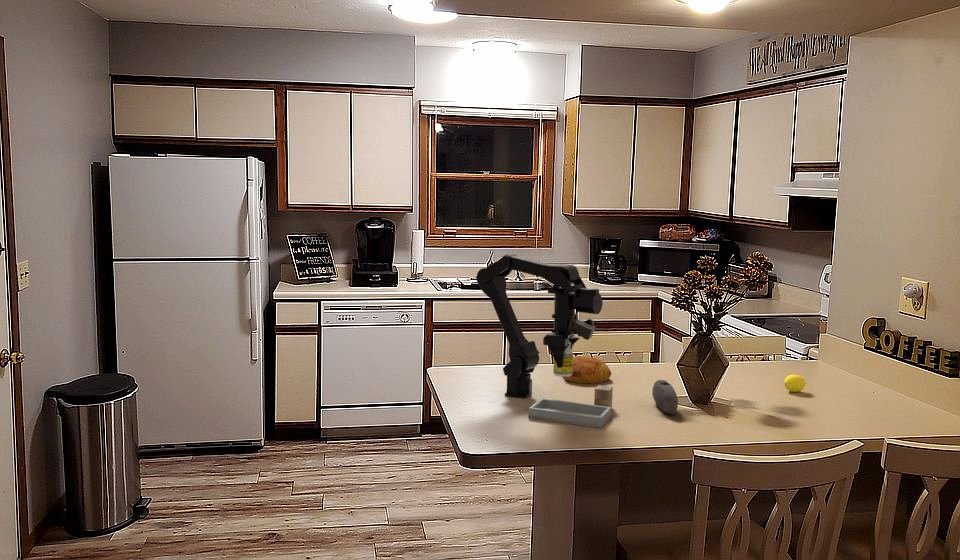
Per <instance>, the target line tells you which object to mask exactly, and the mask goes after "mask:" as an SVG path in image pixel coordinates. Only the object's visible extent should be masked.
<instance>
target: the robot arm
mask: <svg viewBox="0 0 960 560" xmlns="http://www.w3.org/2000/svg"><path fill="white" fill-rule="evenodd" d="M512 271H516V272H520V273H524V274H528V275H531V276H536V277H539V278H541V279H544V280H546V282H547V283H550V284H552V286H551V288H549V289H548V290H547V293H548V294H554V302H553V303H554V305H553V306H554V309H553V312H554V313H552V314H551V318H552V319H553V327H552V328H551V331H550V332H549V333H547V334H546V335H545V336H543V338H542V345H544V346H547V347H548V349H549V351H550V352H551V355H552V357H553V360H554V359H555V362H556V364H557V366H558V368H562V365H563V360H564V354H565V349H566V348H568V347H569V346H570V344H568V342H569V341H571V346H570V348H571V349H572V350H573V347H574V344H575V343H577V342H578V341H579V340H581V338H582V339H584V340H586V341H588V340H590V339H592V337H593V335H594V332H596V325H595V323H594V322H595V321H594V319H591V318H588V319H586V320H580V319H579V315H578V313H584V314H590V315H591V314H593V315H598V314H600V313H601V311H602V308H603V302H604V301H603V299H602V295H601V294H600V289H599V288H587V286H586V284H585V283H584V281H583V279H582V277H581V276H580V272H579V270H578V268H577V267H576V266H575V265H573V264H562V263H561V264H560V263H554V264H553V263H546V262H543V261H539V260H535V259H532V258H527V257H524V256H519V255H517V254H516V253H515V254H513V253H511V254H505V255H503V256H502V257H500V258H499V259H498V260H496V261H494V262H493V263H491V264H489V265H488V266H487V267H483V268H480V269H479V270H478V271H477V274H476V277H475V278H476V279H475V281H476V282H477V284H478V286H479V288H480V289H481V291H482V293H484V294H485V295H486V297H488V298H489V299H490V301H491V304H492V306H493V309H494V310H495V313H496V315H497V317H498V321H499V322H500V325H501V327H502V329H503V332H504V335H505V337H506V339H507V341H508V357H509V362H508V363H507V364H506V365H505V366H503V368H502V371H503V375H504V376H506V392H505V393H504V396H506V397H515V398H522V399H526V398H527V397H528V396H530V395H532V394H533V379H532V378H531V373H534V371H535V368H536V367H537V366H538V365H539V361H540V355H539V354H540V352H539V350H538V348H537V346H536V342H535V341H534V340H532V341H529V339H527V338H526V337H525V335H524V333H523V330H522V328H521V326H520V323H519V321H518V318H517V316H516V314H515V311H514V309H513V306H512V305H511V302H510V299H509V296H508V295H507V280H506V278H507V277H508V276H509V275H510V274H511V273H512ZM576 312H577V313H576ZM576 335H577V336H578V337H576ZM580 337H581V338H580Z"/></svg>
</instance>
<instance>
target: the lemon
mask: <svg viewBox="0 0 960 560" xmlns="http://www.w3.org/2000/svg"><path fill="white" fill-rule="evenodd" d="M783 384H784V387H785V389H787V390H788V391H789V392H791V393H798V392H801V391H803V390H804V389H805V388H806V385H807V383H806V380H805V379H804V377H803V376H801V375H799V374H790V375H787V377H786V378H785V379H784V383H783Z"/></svg>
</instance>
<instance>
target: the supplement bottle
mask: <svg viewBox="0 0 960 560" xmlns="http://www.w3.org/2000/svg"><path fill="white" fill-rule="evenodd" d="M568 344H570V346H571V341H569V342H568ZM570 346H569V347H568V348H566V349H565V354H564V360H563V365H562V368H558V366H557V364H556V362H555V359H554V358H553V375H554V376H556V377H561V378H562V377H568V376H571V375H572V371H573V358H574V350H573V348H572V349H571V348H570Z"/></svg>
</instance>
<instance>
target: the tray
mask: <svg viewBox="0 0 960 560" xmlns="http://www.w3.org/2000/svg"><path fill="white" fill-rule="evenodd" d="M611 417H612V408H611V407H606V406H598V405H594V404H589V403H581V402H574V401H566V400H557V399H551V398H545V397H541V398H539V400H537V401H536V402H535V403H533V404H532V405H531V406H530V407H528V418H529V419H537V420H542V421H543V420H544V421H550V422H556V423H557V422H558V423H564V424H571V425H578V426H583V427H584V426H586V427H592V428H600V429H601V428H602V427H603V426H605V424H606V423H607V422H608V421H609V420H610V419H611Z"/></svg>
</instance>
